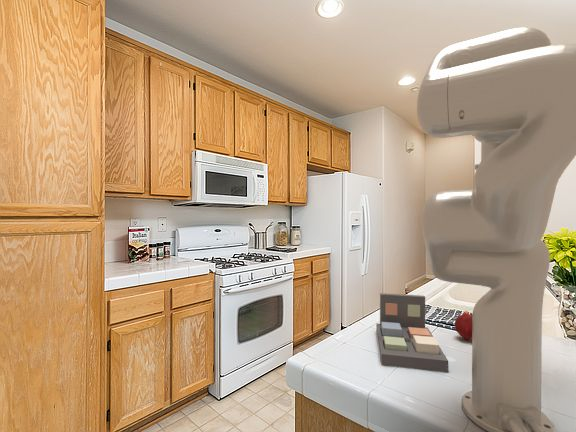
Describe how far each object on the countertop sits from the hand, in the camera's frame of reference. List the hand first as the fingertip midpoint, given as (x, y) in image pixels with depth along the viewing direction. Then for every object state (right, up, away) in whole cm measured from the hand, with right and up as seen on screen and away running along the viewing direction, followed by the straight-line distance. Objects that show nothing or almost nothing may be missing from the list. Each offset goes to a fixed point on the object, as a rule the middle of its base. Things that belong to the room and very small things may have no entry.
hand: (499, 246), depth 71 cm
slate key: (-22, -25, +11) cm, 35 cm away
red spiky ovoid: (0, -27, +12) cm, 30 cm away
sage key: (-24, -26, +3) cm, 35 cm away
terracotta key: (-15, -26, +9) cm, 31 cm away
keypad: (-19, -27, +7) cm, 34 cm away
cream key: (-17, -25, +1) cm, 30 cm away
